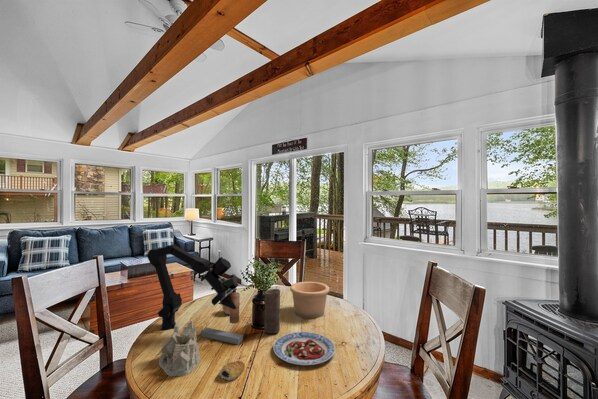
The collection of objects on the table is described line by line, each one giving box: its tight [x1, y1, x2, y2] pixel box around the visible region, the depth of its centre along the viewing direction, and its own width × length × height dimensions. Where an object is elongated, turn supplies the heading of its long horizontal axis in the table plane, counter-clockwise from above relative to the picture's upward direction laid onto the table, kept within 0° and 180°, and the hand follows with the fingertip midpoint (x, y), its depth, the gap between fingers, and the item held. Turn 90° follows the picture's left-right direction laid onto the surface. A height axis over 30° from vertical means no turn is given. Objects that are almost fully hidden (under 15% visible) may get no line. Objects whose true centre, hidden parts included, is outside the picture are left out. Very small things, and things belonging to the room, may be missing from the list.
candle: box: [263, 288, 281, 334], centre depth 132 cm, size 8×7×20 cm
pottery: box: [289, 281, 330, 320], centre depth 156 cm, size 22×22×14 cm
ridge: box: [200, 327, 244, 345], centre depth 125 cm, size 20×4×2 cm, turn 69°
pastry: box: [218, 360, 246, 381], centre depth 101 cm, size 9×7×4 cm
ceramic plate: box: [272, 331, 336, 366], centre depth 116 cm, size 26×26×3 cm
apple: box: [221, 304, 230, 315], centre depth 154 cm, size 9×9×8 cm
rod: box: [229, 291, 241, 324], centre depth 131 cm, size 4×4×13 cm
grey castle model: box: [158, 319, 201, 377], centre depth 105 cm, size 16×16×15 cm
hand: (237, 306), depth 130 cm, fingers closed on rod, 4 cm apart
